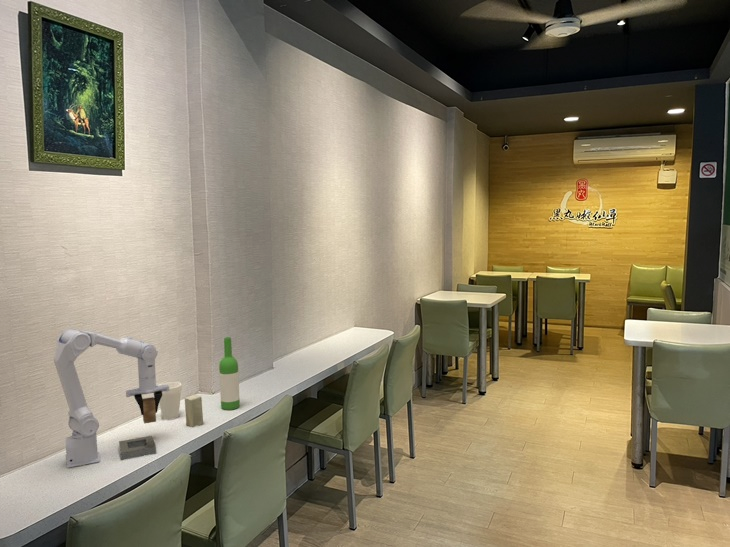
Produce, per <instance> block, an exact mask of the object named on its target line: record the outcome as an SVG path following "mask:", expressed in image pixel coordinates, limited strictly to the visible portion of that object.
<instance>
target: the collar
mask: <svg viewBox="0 0 730 547" xmlns="http://www.w3.org/2000/svg"><path fill="white" fill-rule="evenodd" d="M118 448H119V453H120V460H121V461H123V460H128V459H132V458H133V459H134V458H140V457H144V455H145V456H150V455H154V454H157V446H156V443H155V439H154V437H153V435H146V436H142V437H135V438H130V439H125V440H119V441H118ZM149 454H150V455H149Z"/></svg>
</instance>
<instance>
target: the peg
mask: <svg viewBox="0 0 730 547" xmlns="http://www.w3.org/2000/svg"><path fill="white" fill-rule="evenodd" d="M143 412H144V415H142V421H143V423H144V424H150V423H156V422H157V413H156V410H155V399H154V396H151V397H144V398H143Z"/></svg>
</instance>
